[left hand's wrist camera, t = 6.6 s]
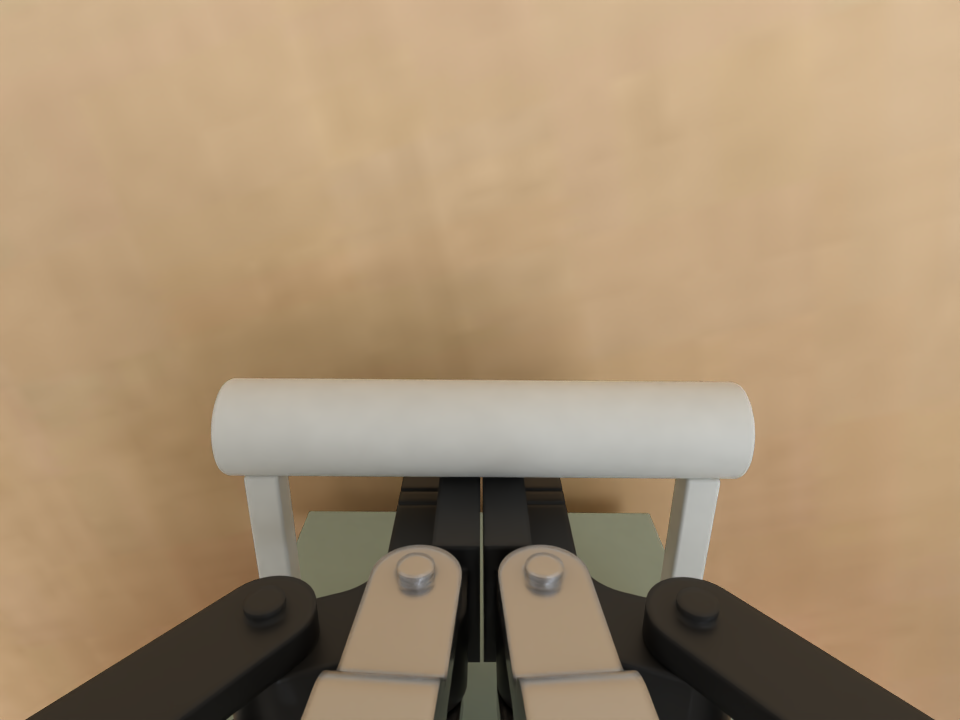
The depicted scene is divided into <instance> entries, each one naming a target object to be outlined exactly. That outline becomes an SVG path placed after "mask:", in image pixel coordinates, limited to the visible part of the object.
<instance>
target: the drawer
mask: <svg viewBox="0 0 960 720" xmlns="http://www.w3.org/2000/svg"><path fill="white" fill-rule="evenodd" d="M211 442H212V450H213V455H214V459H215V462H216V464H217V466H218V468H219V469H220V471H221V472H223V473H224V474H227V475H239V476H245V477H244V483H245V489H246V495H247V502H248V508H249V515H250V521H251V527H252V534H253V540H254V547H255V553H256V559H257V566H258V572H259V578H264V577H269V576H291V577H295V578H298V579H301V580H303V581H305V582H306V583H307V584H309V585H310V586H311V587H312V589H313V590H314V592H315V595H316V598H319V597H323V596H327V595H332V594H336V593H340V592H344V591H347V590H350V589H353V588H355V587H357V586H360V585H361V584H363V583H365V582H367V581H368V579H369V576H370V573H371V571H372V568H373V566H374V565H375V564H376V562H377V561H378V560H379V559H380V558H381V557H383V556H384V555H386V554H387V553H388V549H389V545H390V540H391V535H392V530H393V525H394V521H395V516H396V512H364V511H310V512H309V514H308V516H307V518H306V521H305V523H304V526H303V528H302V531H301V533H300V535H299V538H298V540H297V542H296V534H295V526H294V518H293V510H292V502H291V494H290V486H289V478H288V476H389V477H539V478H676V480H675V487H674V493H673V500H672V507H671V513H670V520H669V526H668V533H667V540H666V546H665V550H664V548H663V545H662V543H661V541H660V538H659V536H658V533H657V531H656V529H655V526H654V524H653V521H652V519H651V516H650V514H648V513H568V517H569V522H570V527H571V531H572V536H573V540H574V545H575V550H576V554H577V557H579V558H580V559H581V560H582V561H583V562H584V564H585V565H586V566H587V568H588V571H589V573H590V576H591V577H592V578H594V579H595V580H596V581H598V582H600V583H601V584H603V585H605V586H607V587H610V588H612V589H615V590H618V591H622V592H625V593H630V594H634V595H638V596H642V597H647V594H648V592H649V591H650V589H651V588H652V587H653V586H654V585H655V584H657V583H658V582H660V581H662V580H665V579H668V578H674V577H691V578H696V579H701V580H703V574H704V569H705V563H706V558H707V552H708V547H709V542H710V536H711V531H712V525H713V520H714V514H715V509H716V503H717V498H718V492H719V487H720V480H719V479H736V478H739V477H741V476H743V475H744V474H745V473H746V472H747V470H748V468H749V466H750V464H751V461H752V457H753V452H754V444H755V425H754V417H753V411H752V407H751V404H750V401H749V398H748V396H747V394H746V392H745V391H744V389H743V388H742V387H741V386H740V385H738V384H736V383H734V382H688V381H558V380H428V379H299V378H233V379H230V380H228V381H226V382H225V383H224V384H223V386H222V387H221V389H220V391H219V393H218V395H217V398H216V401H215V405H214V409H213V415H212V423H211ZM496 703H497V674H496V662H484V632H483V512H480V662H468V679H467V688H466V691H465V694H464V696H463V717H462V720H498V718H497V704H496ZM233 719H234V718H233V715H232V716H231V717H229V718H228V719H227V720H233ZM731 720H733V719H732V718H731Z"/></svg>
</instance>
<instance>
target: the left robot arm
mask: <svg viewBox="0 0 960 720" xmlns="http://www.w3.org/2000/svg"><path fill="white" fill-rule="evenodd" d="M483 632H484V662H496V674H497V703H496V704H497V718H498V720H731V718H732V719H733V720H934V719H932V718H931V717H929V716H928V715H926V714H924V713H923V712H921V711H920V710H918V709H916V708H915V707H913V706H912V705H910V704H908V703H907V702H905V701H903V700H902V699H900V698H899V697H897V696H895V695H894V694H892V693H891V692H889V691H887V690H886V689H884V688H883V687H881V686H879V685H878V684H876V683H874V682H873V681H871V680H870V679H868V678H866V677H865V676H863V675H862V674H860V673H858V672H857V671H855V670H854V669H852V668H850V667H849V666H847V665H845V664H844V663H842V662H841V661H839V660H837V659H836V658H834V657H833V656H831V655H829V654H828V653H826V652H825V651H823V650H821V649H820V648H818V647H816V646H815V645H813V644H812V643H810V642H808V641H807V640H805V639H804V638H802V637H800V636H799V635H797V634H796V633H794V632H792V631H791V630H789V629H787V628H786V627H784V626H783V625H781V624H779V623H778V622H776V621H775V620H773V619H771V618H770V617H768V616H767V615H765V614H763V613H762V612H760V611H758V610H757V609H755V608H754V607H752V606H750V605H749V604H747V603H746V602H744V601H742V600H741V599H739V598H738V597H736V596H734V595H733V594H731V593H729V592H728V591H726V590H725V589H723V588H721V587H719V586H717V585H715V584H713V583H710V582H708V581H704V580H701V579H696V578H691V577H674V578H668V579H665V580H662V581H660V582H658V583H657V584H655V585H654V586H653V587H652V588H651V589H650V591H649V592H648V594H647V597H642V596H638V595H634V594H630V593H625V592H622V591H618V590H615V589H612V588H610V587H607V586H605V585H603V584H601V583H600V582H598V581H596V580H595V579H594V578H592V577H591V576H590V573H589V571H588V568H587V566H586V565H585V564H584V562H583V561H582V560H581V559H580V558H579V557H577V554H576V550H575V545H574V540H573V536H572V531H571V527H570V522H569V517H568V513H567V508H566V505H565V499H564V494H563V491H562V485H561V481H560V478H539V477H483ZM468 662H480V477H403V482H402V487H401V492H400V497H399V501H398V506H397V511H396V516H395V521H394V525H393V530H392V535H391V540H390V545H389V549H388V553H387V554H386V555H384V556H383V557H381V558H380V559H379V560H378V561H377V562H376V564H375V565H374V566H373V568H372V571H371V573H370V576H369V579H368V581H367V582H365V583H363V584H361V585H360V586H357V587H355V588H353V589H350V590H347V591H344V592H340V593H336V594H332V595H327V596H323V597H319V598H316V595H315V592H314V590H313V589H312V587H311V586H310V585H309V584H307V583H306V582H305V581H303V580H301V579H298V578H295V577H291V576H269V577H264V578H260V579H257V580H253V581H251V582H249V583H246V584H244V585H242V586H241V587H239V588H237V589H235V590H234V591H232V592H231V593H229V594H227V595H226V596H224V597H222V598H221V599H219V600H218V601H216V602H214V603H213V604H211V605H210V606H208V607H206V608H205V609H203V610H202V611H200V612H198V613H197V614H195V615H193V616H192V617H190V618H189V619H187V620H185V621H184V622H182V623H181V624H179V625H177V626H176V627H174V628H173V629H171V630H169V631H168V632H166V633H164V634H163V635H161V636H160V637H158V638H156V639H155V640H153V641H152V642H150V643H148V644H147V645H145V646H144V647H142V648H140V649H139V650H137V651H135V652H134V653H132V654H131V655H129V656H127V657H126V658H124V659H123V660H121V661H119V662H118V663H116V664H115V665H113V666H111V667H110V668H108V669H106V670H105V671H103V672H102V673H100V674H98V675H97V676H95V677H94V678H92V679H90V680H89V681H87V682H86V683H84V684H82V685H81V686H79V687H77V688H76V689H74V690H73V691H71V692H69V693H68V694H66V695H65V696H63V697H61V698H60V699H58V700H57V701H55V702H53V703H52V704H50V705H48V706H47V707H45V708H44V709H42V710H40V711H39V712H37V713H36V714H34V715H32V716H31V717H29V718H28V719H26V720H227V719H228V718H229V717H231V716H232V715H233V718H234V719H233V720H462V717H463V696H464V694H465V691H466V688H467V679H468Z"/></svg>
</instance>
